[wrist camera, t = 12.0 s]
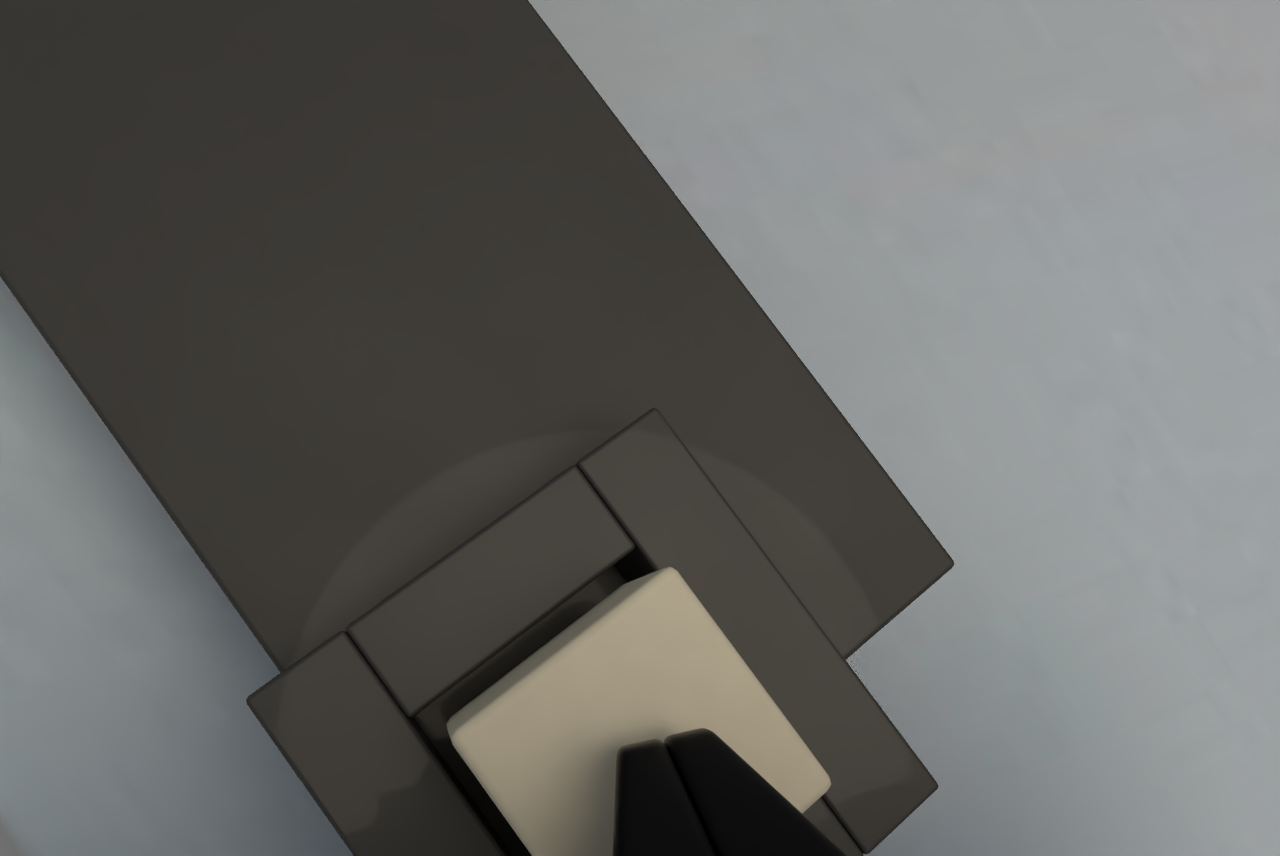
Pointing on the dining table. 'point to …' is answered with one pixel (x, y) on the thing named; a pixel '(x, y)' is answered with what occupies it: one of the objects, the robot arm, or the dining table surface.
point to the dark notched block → (435, 381)
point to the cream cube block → (620, 715)
